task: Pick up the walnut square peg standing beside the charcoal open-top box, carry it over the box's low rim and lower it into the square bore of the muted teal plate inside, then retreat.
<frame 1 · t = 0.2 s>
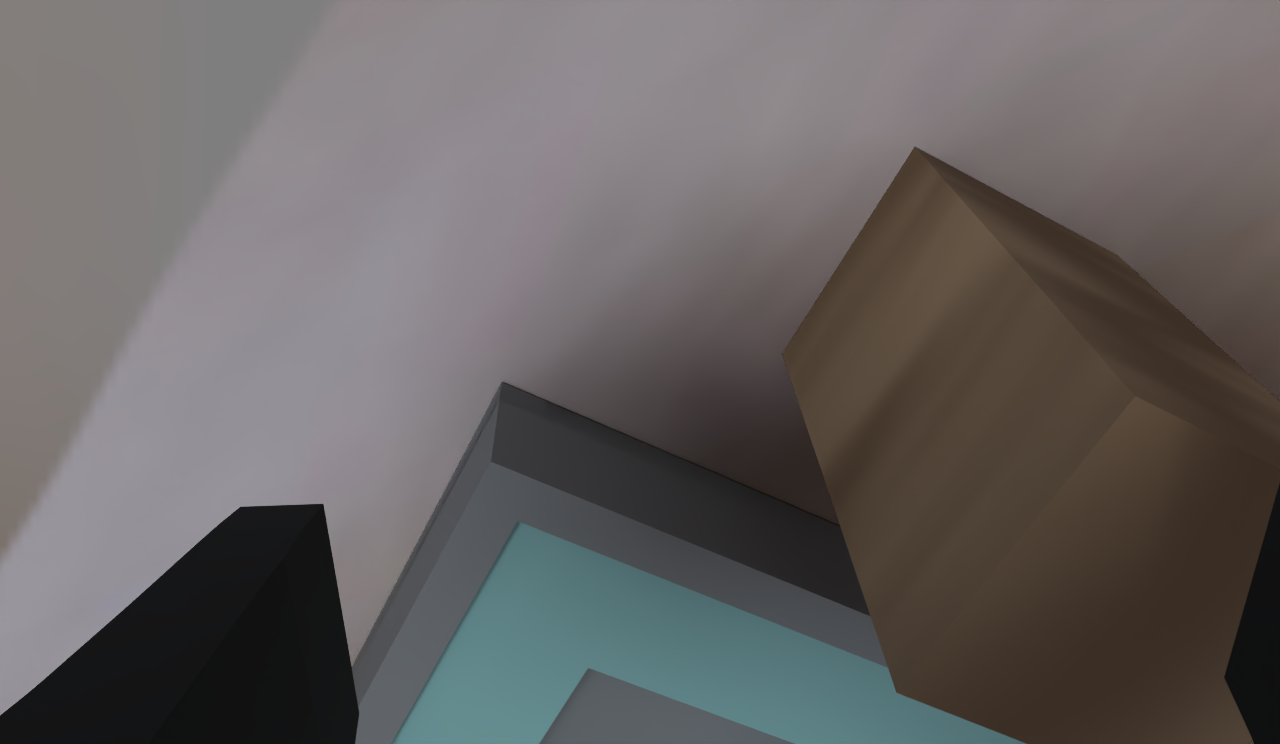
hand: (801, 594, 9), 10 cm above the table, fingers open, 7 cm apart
socket box: (650, 734, 23), on the table
peg: (947, 305, 19), on the table
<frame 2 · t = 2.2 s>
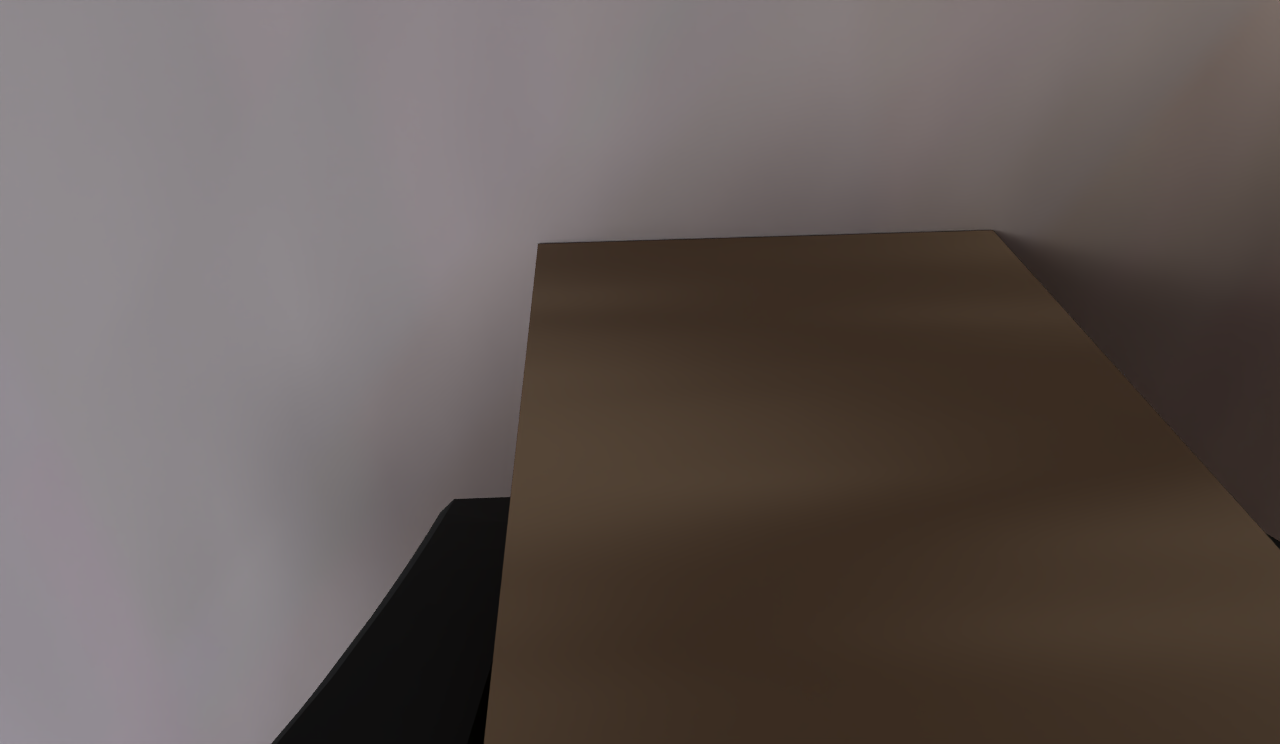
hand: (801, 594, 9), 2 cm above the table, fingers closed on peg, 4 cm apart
peg: (759, 433, 11), on the table, touching gripper
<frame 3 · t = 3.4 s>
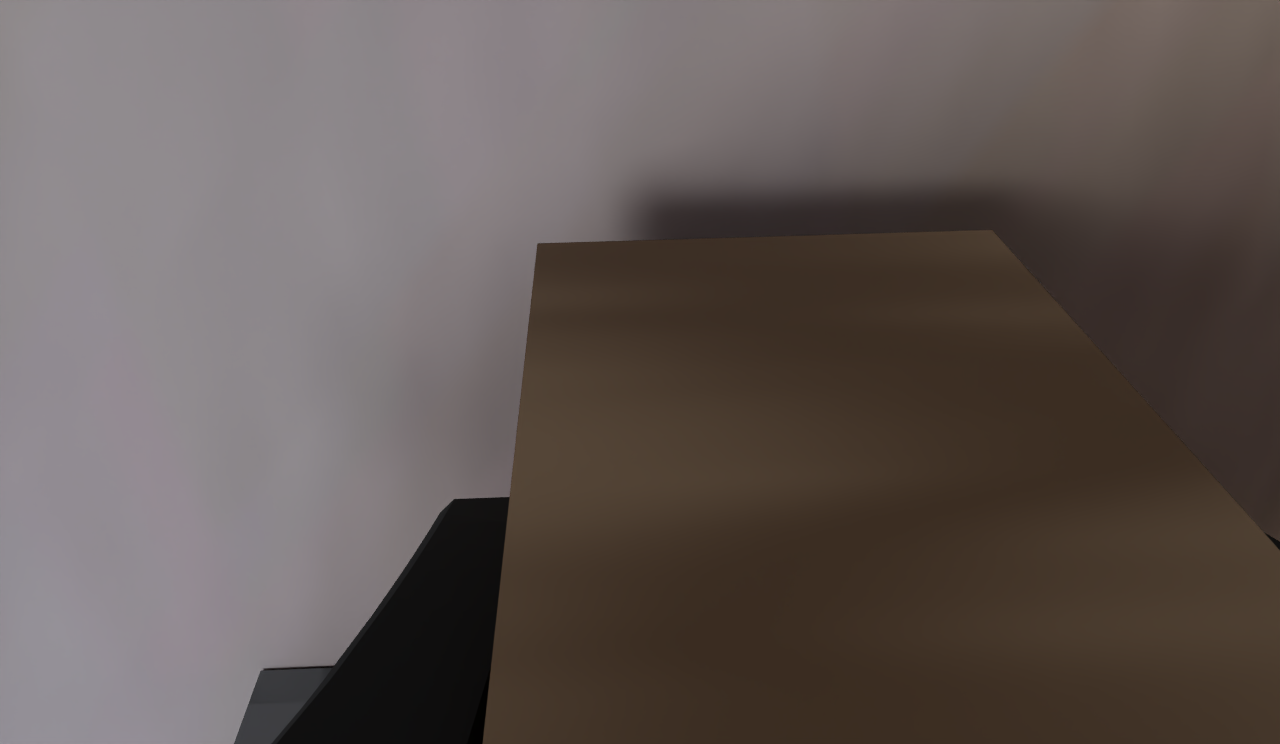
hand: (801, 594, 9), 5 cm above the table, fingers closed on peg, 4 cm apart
peg: (758, 433, 11), point 2 cm above the table, touching gripper
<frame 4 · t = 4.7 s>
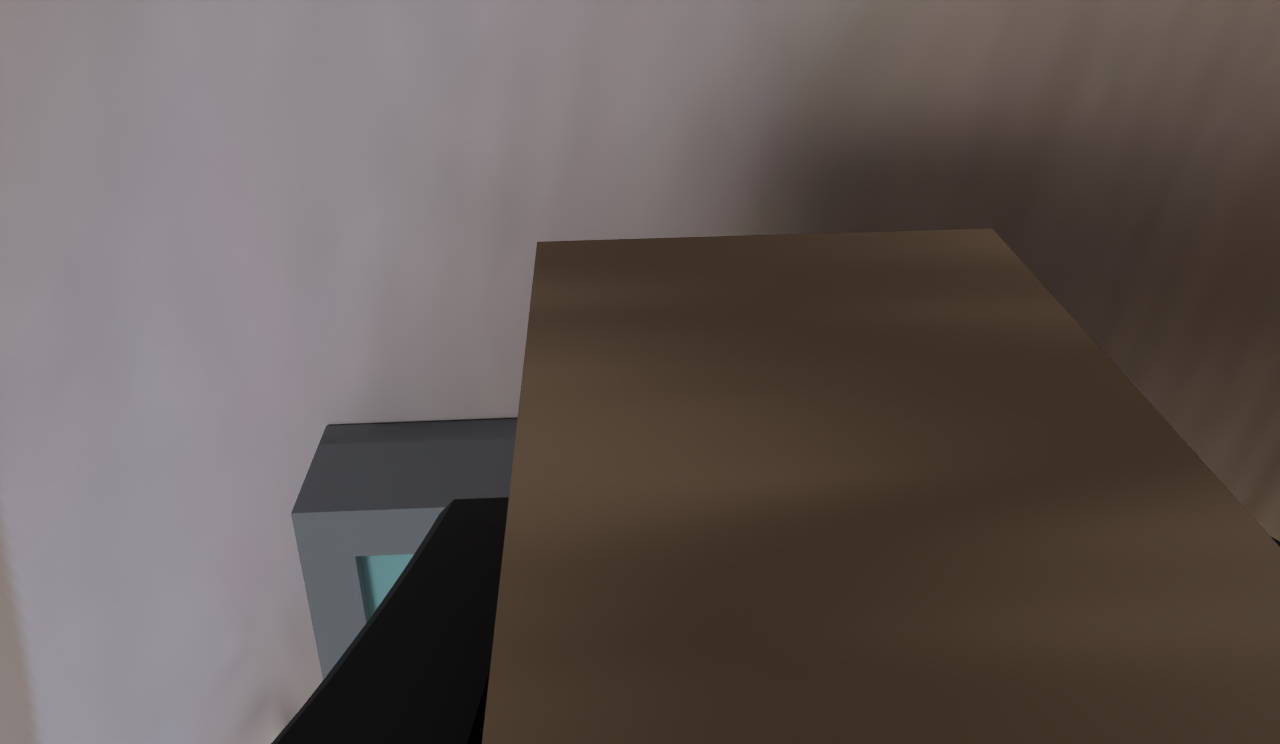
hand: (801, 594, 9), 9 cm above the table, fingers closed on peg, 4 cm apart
socket box: (693, 689, 22), on the table
peg: (758, 432, 11), point 7 cm above the table, touching gripper
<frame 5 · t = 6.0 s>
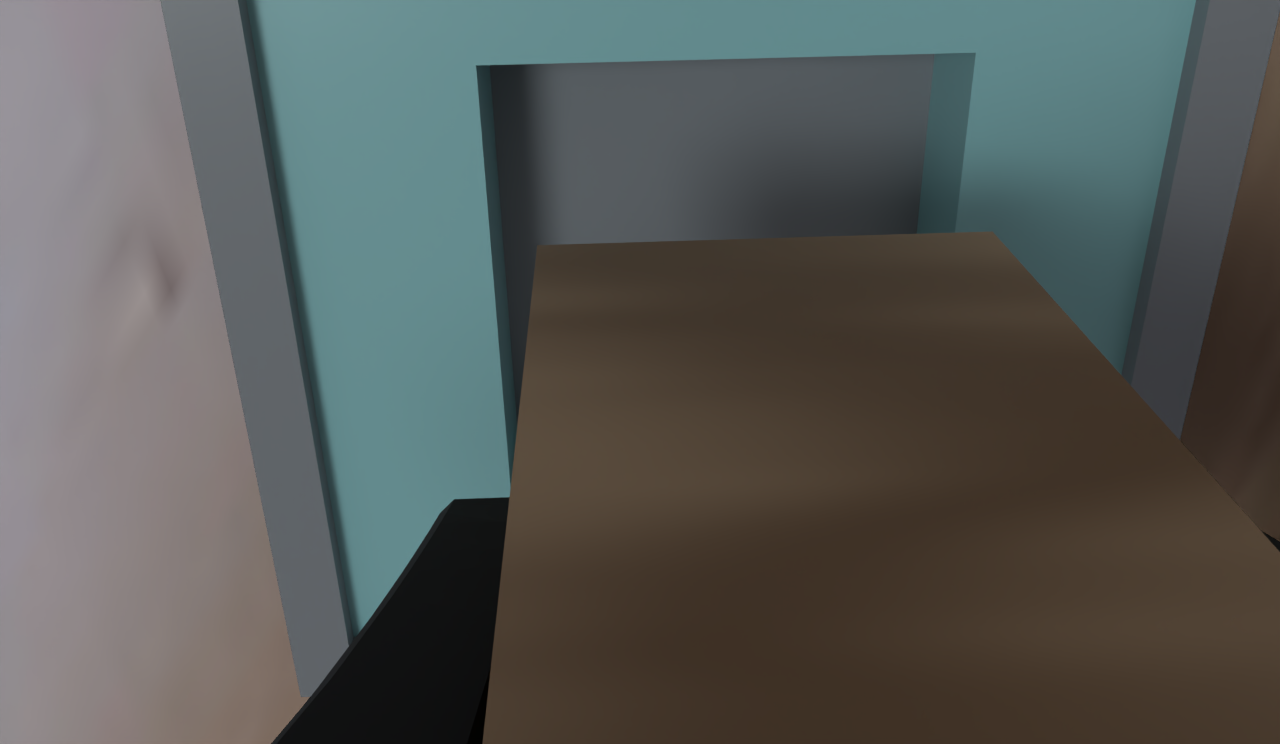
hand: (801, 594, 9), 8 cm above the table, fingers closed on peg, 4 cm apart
socket box: (706, 227, 16), on the table
peg: (758, 435, 11), point 6 cm above the table, touching gripper
when the fingers open (4 cm above the table, at t = 7.3 s): peg stays where it is, resting on socket box.
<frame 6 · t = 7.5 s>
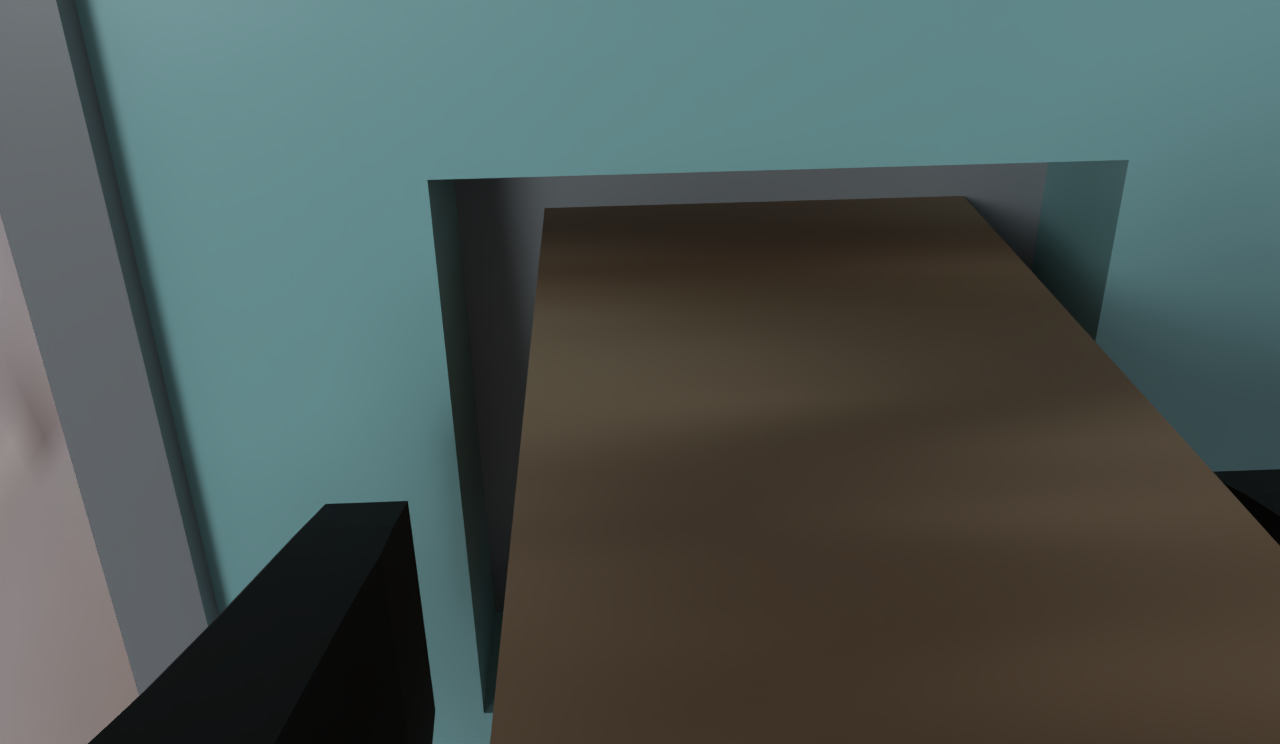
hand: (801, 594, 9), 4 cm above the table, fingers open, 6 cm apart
socket box: (740, 359, 12), on the table
peg: (749, 387, 12), point 1 cm above the table, touching socket box
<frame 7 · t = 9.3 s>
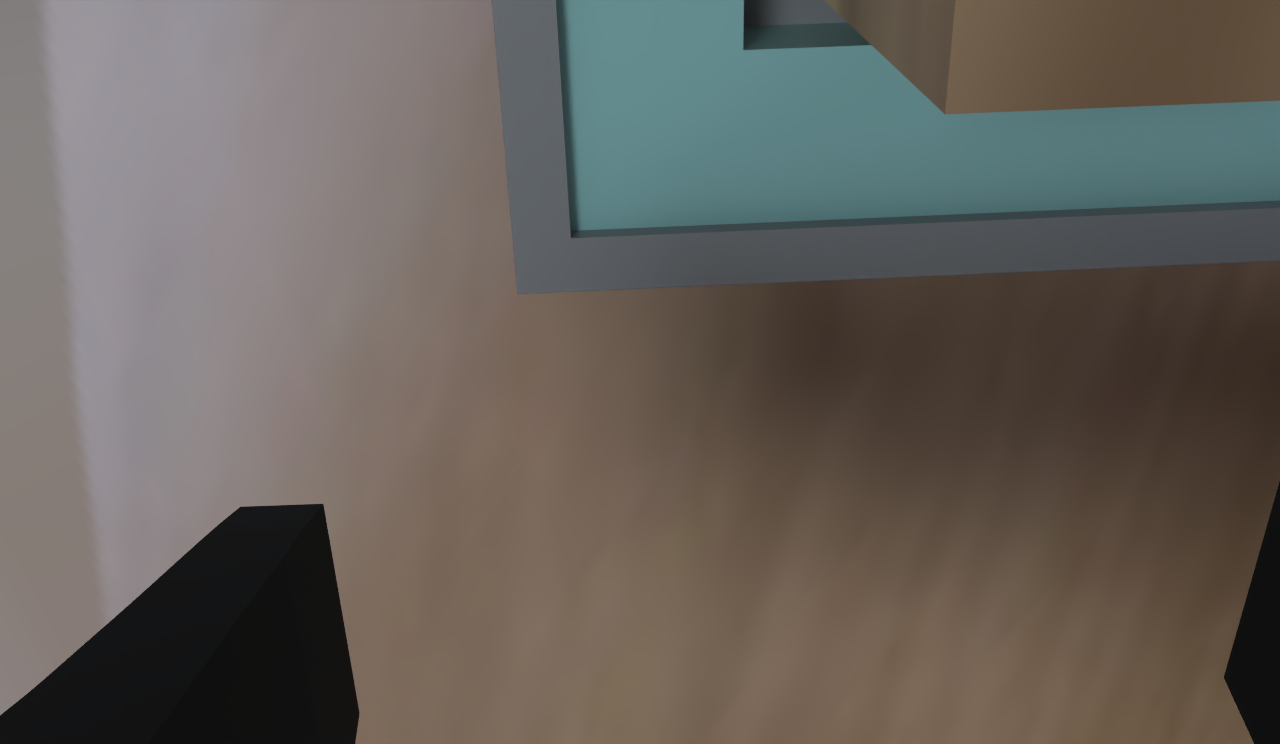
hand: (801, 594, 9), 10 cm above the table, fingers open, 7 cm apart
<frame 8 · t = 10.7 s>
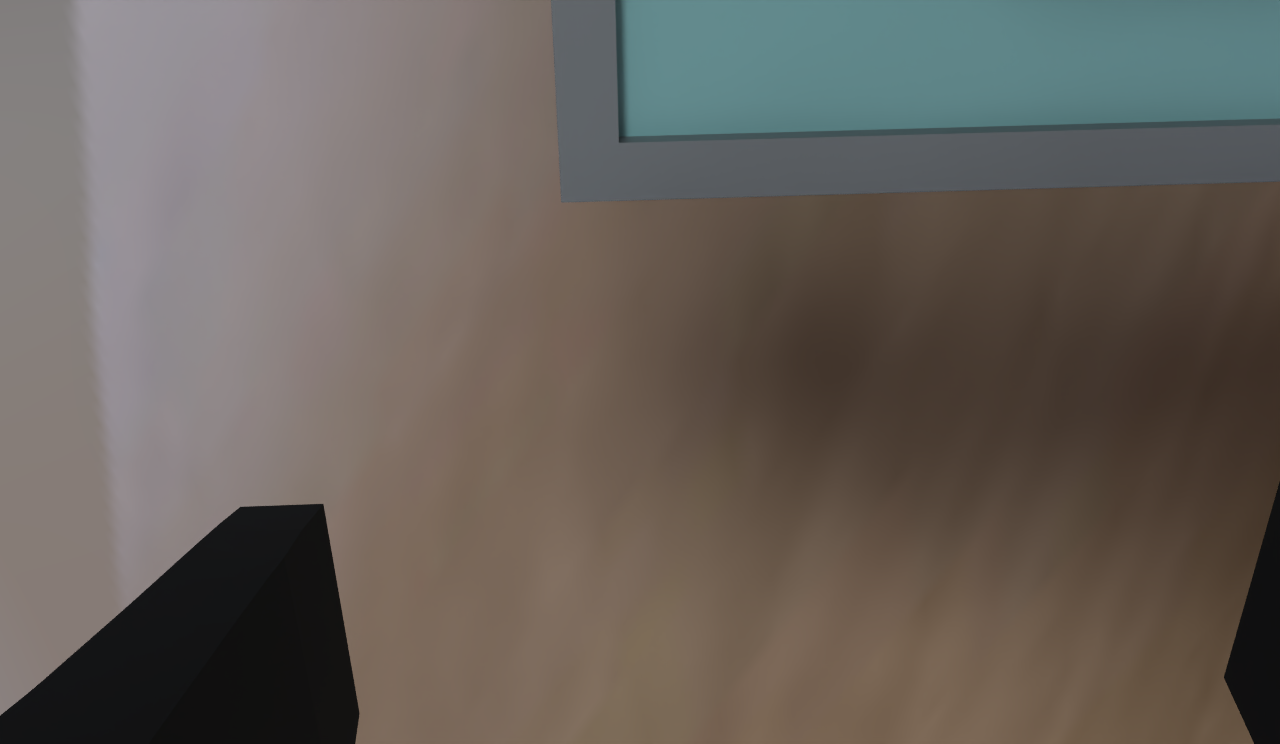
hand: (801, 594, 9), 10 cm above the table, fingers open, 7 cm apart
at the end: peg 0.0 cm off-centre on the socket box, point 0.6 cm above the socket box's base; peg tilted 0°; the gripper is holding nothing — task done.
